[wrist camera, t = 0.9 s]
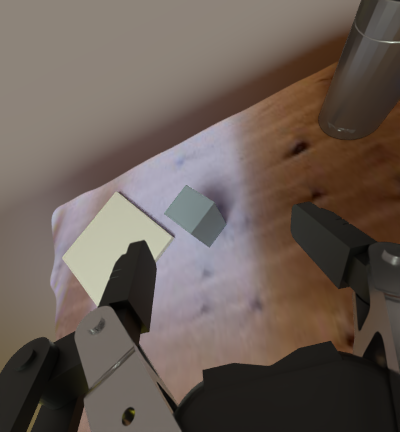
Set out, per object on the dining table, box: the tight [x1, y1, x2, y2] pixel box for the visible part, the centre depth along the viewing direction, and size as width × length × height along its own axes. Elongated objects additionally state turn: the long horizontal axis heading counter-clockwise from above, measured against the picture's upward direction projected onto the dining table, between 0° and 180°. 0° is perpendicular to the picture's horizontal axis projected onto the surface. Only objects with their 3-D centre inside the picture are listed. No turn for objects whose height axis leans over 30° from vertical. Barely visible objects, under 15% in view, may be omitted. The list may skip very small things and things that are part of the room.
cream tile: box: [62, 191, 174, 307], centre depth 37 cm, size 18×18×1 cm
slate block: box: [164, 185, 226, 248], centre depth 29 cm, size 5×5×10 cm
